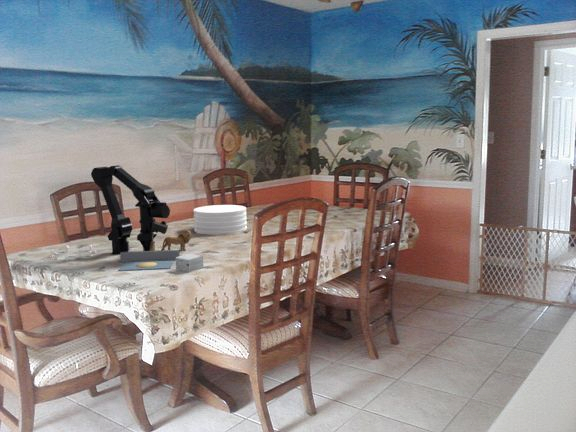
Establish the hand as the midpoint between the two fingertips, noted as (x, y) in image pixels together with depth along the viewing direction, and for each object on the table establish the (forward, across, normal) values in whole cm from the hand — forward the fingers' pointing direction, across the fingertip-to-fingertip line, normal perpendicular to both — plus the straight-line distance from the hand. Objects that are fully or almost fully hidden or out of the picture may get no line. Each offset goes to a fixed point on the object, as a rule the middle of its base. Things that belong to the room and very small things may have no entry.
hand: (149, 252), depth 241 cm
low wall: (+1, -10, -2) cm, 10 cm away
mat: (+1, -19, -2) cm, 19 cm away
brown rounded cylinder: (+1, 0, 0) cm, 1 cm away
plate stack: (+2, +55, -29) cm, 62 cm away
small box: (+2, -26, -20) cm, 33 cm away
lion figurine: (+2, +8, -11) cm, 14 cm away
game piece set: (+2, +7, +34) cm, 35 cm away
